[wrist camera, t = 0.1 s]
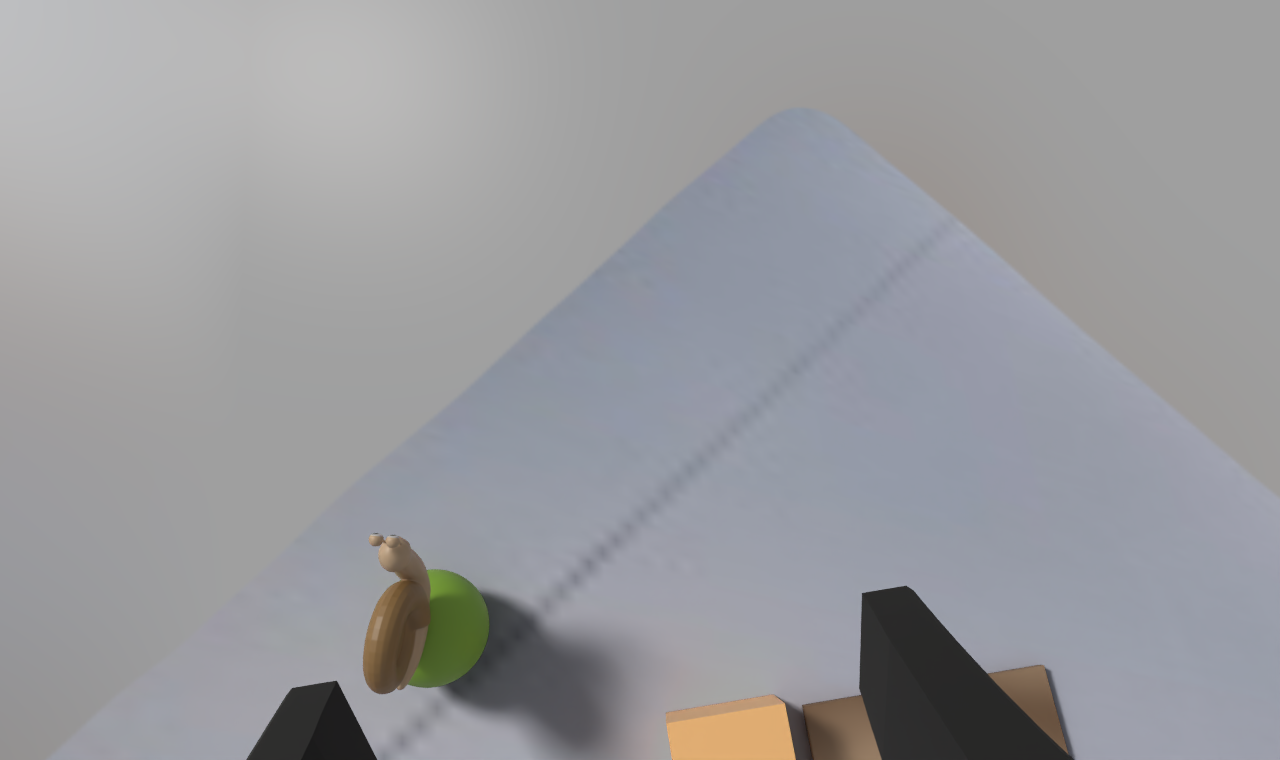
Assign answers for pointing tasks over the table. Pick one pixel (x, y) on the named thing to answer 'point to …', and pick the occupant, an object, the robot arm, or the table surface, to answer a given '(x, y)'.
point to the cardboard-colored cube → (732, 731)
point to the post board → (848, 738)
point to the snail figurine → (422, 624)
